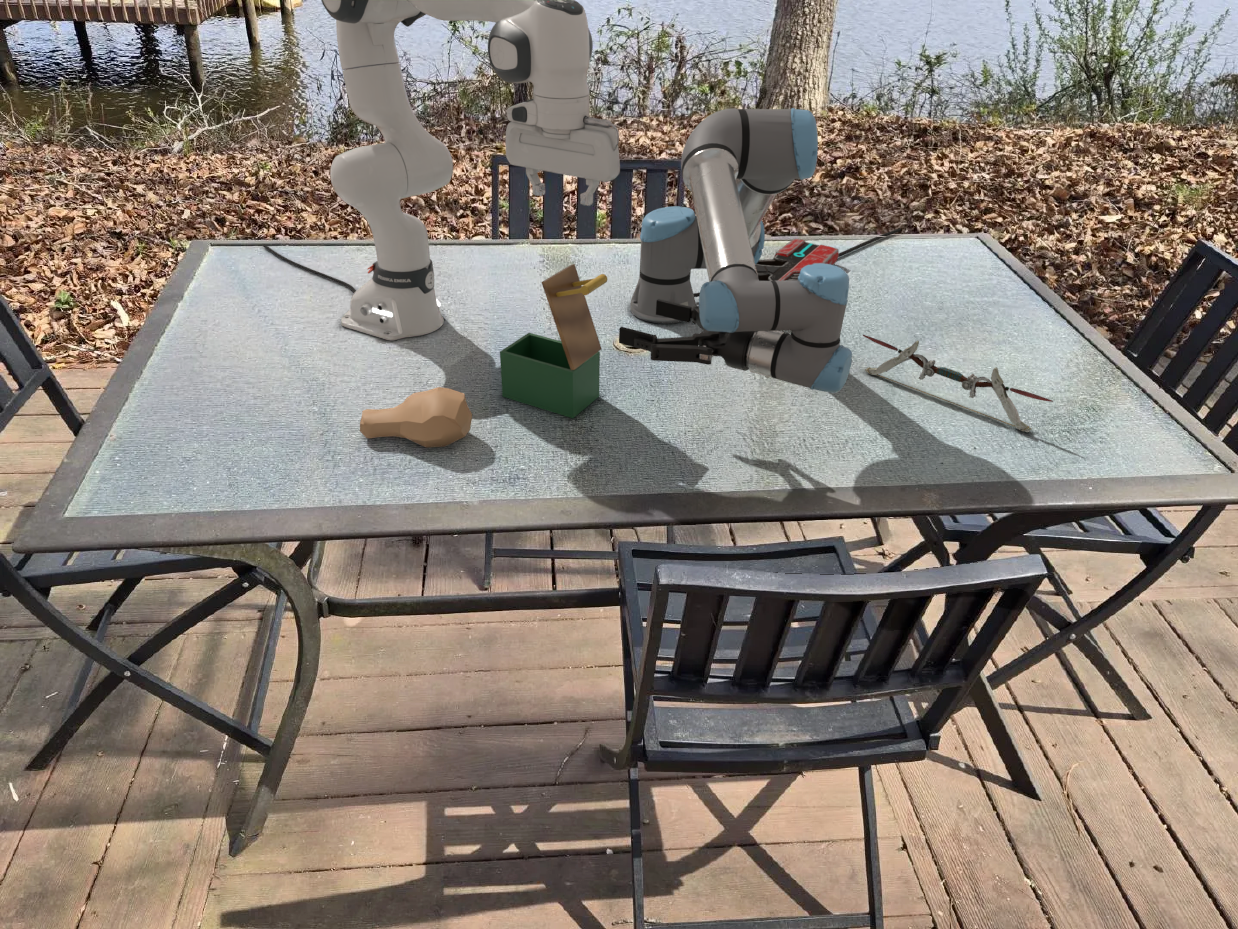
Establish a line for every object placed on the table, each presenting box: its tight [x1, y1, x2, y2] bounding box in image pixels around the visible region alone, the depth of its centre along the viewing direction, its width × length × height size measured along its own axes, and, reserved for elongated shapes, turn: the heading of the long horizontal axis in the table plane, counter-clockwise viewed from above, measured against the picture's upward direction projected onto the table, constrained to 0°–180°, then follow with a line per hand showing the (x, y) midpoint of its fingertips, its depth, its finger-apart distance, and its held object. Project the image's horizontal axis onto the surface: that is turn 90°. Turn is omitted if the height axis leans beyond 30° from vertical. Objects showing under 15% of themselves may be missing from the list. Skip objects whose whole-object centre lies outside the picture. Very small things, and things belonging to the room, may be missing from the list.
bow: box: [862, 334, 1055, 433], centre depth 169 cm, size 39×2×10 cm, turn 47°
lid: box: [541, 263, 608, 370], centre depth 156 cm, size 17×10×8 cm
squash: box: [359, 386, 473, 449], centre depth 154 cm, size 11×20×9 cm, turn 90°
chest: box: [499, 332, 601, 419], centre depth 167 cm, size 16×10×10 cm, turn 61°
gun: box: [755, 238, 840, 281], centre depth 224 cm, size 4×31×19 cm
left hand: (562, 199), depth 147 cm, fingers open, 8 cm apart
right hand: (639, 320), depth 151 cm, fingers open, 13 cm apart
